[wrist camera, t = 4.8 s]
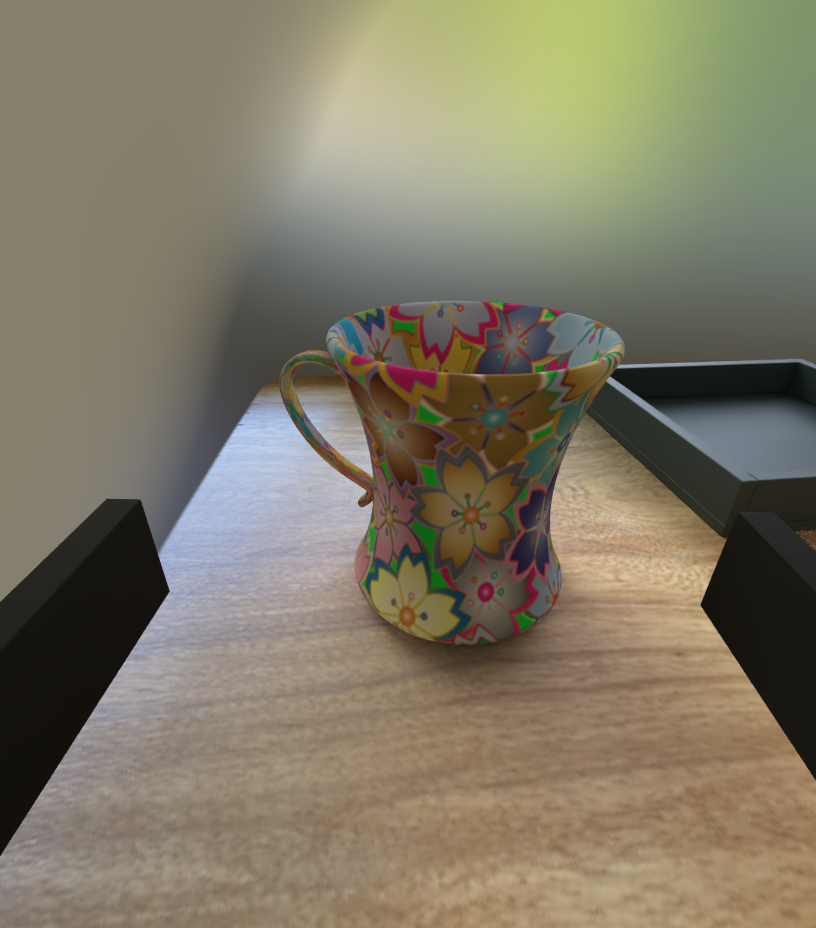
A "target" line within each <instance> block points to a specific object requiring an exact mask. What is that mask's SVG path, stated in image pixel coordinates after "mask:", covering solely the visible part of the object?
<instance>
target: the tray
mask: <svg viewBox="0 0 816 928" xmlns="http://www.w3.org/2000/svg"><path fill="white" fill-rule="evenodd" d="M586 412H587V413H588V414H589V415H590V416H591V417H592V418H593V419H594V420H595V421H597V422H598V423H599V424H600V425H601V426H602V427H603V428H604V429H605V430H606V431H607V432H608V433H610V434H611V435H612V436H613V437H614V438H615V439H616V440H617V441H618V442H619V443H620V444H622V445H623V446H624V447H625V448H626V449H627V450H628V451H629V452H630V453H631V454H632V455H633V456H635V457H636V458H637V459H638V460H639V461H640V462H641V463H642V464H643V465H644V466H645V467H647V468H648V469H649V470H650V471H651V472H652V473H653V474H654V475H655V476H656V477H657V478H658V479H660V480H661V481H662V482H663V483H664V484H665V485H666V486H667V487H668V488H669V489H670V490H672V491H673V492H674V493H675V494H676V495H677V496H678V497H679V498H680V499H681V500H682V501H683V502H685V503H686V504H687V505H688V506H689V507H690V508H691V509H692V510H693V511H694V512H695V513H697V514H698V515H699V516H700V517H701V518H702V519H703V520H704V521H705V522H706V523H707V524H708V525H710V526H711V527H712V528H713V529H714V530H715V531H716V532H717V533H718V534H719V535H720V536H728V535H729V533H730V530H731V528H732V525H733V523H734V520H735V518H736V515H737V513H738V512H774V513H775V514H776V515H777V516H778V517H779V518H780V519H782V520H783V521H784V522H785V523H786V524H787V525H788V526H789V527H790V528H791V529H792V530H793V531H798V530H812V529H816V364H813V363H810V362H808V361H805V360H802V359H782V360H754V361H753V360H752V361H724V362H696V363H669V364H638V365H618V366H617V368H616V369H615V370H614V371H613V373H612V374H611V375H610V377H609V378H608V379H607V381H606V382H605V384H604V385H603V386H602V388H601V389H600V391H599V392H598V394H597V395H596V397H595V398H594V400H593V401H592V403H591V404H590V406H589V407H588V409H587V411H586Z"/></svg>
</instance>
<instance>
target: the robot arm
mask: <svg viewBox="0 0 816 928" xmlns="http://www.w3.org/2000/svg"><path fill="white" fill-rule="evenodd" d="M169 592H170V591H169V588H168V585H167V581H166V578H165V575H164V572H163V569H162V566H161V563H160V559H159V556H158V553H157V550H156V547H155V544H154V540H153V537H152V534H151V531H150V528H149V525H148V522H147V518H146V515H145V512H144V509H143V506H142V503H141V500H137V499H134V500H133V499H106V500H105V501H104V502H103V503H102V504H101V505H100V506H99V507H98V508H97V509H96V510H95V511H94V512H93V513H92V514H91V515H90V516H89V517H88V518H87V519H86V520H85V521H84V522H83V523H82V524H80V525H79V527H77V528H76V529H75V530H74V531H73V532H72V533H71V534H70V535H69V536H68V537H67V538H66V539H65V540H64V541H63V542H62V543H61V544H60V545H59V546H58V547H57V548H56V549H55V550H54V551H53V552H51V554H50V555H48V556H47V557H46V558H45V559H44V560H43V561H42V562H41V563H40V564H39V565H38V566H37V567H36V568H35V569H34V570H33V571H32V572H31V573H30V574H29V575H28V576H27V577H26V578H25V579H24V580H23V581H21V582H20V583H19V584H18V585H17V586H16V587H15V588H14V589H13V590H12V591H11V592H10V593H9V594H8V595H7V596H6V597H5V598H4V599H3V600H2V601H1V602H0V856H1V854H2V853H3V851H4V849H5V848H6V846H7V845H8V843H9V842H10V840H11V838H12V837H13V835H14V834H15V832H16V831H17V829H18V828H19V826H20V824H21V823H22V821H23V820H24V818H25V817H26V815H27V813H28V812H29V810H30V809H31V807H32V806H33V804H34V803H35V801H36V799H37V798H38V796H39V795H40V793H41V792H42V790H43V788H44V787H45V785H46V784H47V782H48V781H49V779H50V778H51V776H52V774H53V773H54V771H55V770H56V768H57V767H58V765H59V763H60V762H61V760H62V759H63V757H64V756H65V754H66V753H67V751H68V749H69V748H70V746H71V745H72V743H73V742H74V740H75V738H76V737H77V735H78V734H79V732H80V731H81V729H82V727H83V726H84V724H85V723H86V721H87V720H88V718H89V717H90V715H91V713H92V712H93V710H94V709H95V707H96V706H97V704H98V702H99V701H100V699H101V698H102V696H103V695H104V693H105V692H106V690H107V688H108V687H109V685H110V684H111V682H112V681H113V679H114V677H115V676H116V674H117V673H118V671H119V670H120V668H121V667H122V665H123V663H124V662H125V660H126V659H127V657H128V656H129V654H130V652H131V651H132V649H133V648H134V646H135V645H136V643H137V642H138V640H139V638H140V637H141V635H142V634H143V632H144V631H145V629H146V627H147V626H148V624H149V623H150V621H151V620H152V618H153V617H154V615H155V613H156V612H157V610H158V609H159V607H160V606H161V604H162V602H163V601H164V599H165V598H166V596H167V595H168V593H169ZM701 607H702V608H703V610H704V611H705V613H706V614H707V616H708V617H709V619H710V620H711V622H712V623H713V625H714V626H715V628H716V630H717V631H718V633H719V634H720V636H721V637H722V639H723V640H724V642H725V643H726V645H727V646H728V648H729V649H730V651H731V652H732V654H733V655H734V657H735V658H736V660H737V661H738V663H739V664H740V666H741V668H742V669H743V671H744V672H745V674H746V675H747V677H748V678H749V680H750V681H751V683H752V684H753V686H754V687H755V689H756V690H757V692H758V693H759V695H760V696H761V698H762V699H763V701H764V702H765V704H766V705H767V707H768V709H769V710H770V712H771V713H772V715H773V716H774V718H775V719H776V721H777V722H778V724H779V725H780V727H781V728H782V730H783V731H784V733H785V734H786V736H787V737H788V739H789V740H790V742H791V743H792V745H793V747H794V748H795V750H796V751H797V753H798V754H799V756H800V757H801V759H802V760H803V762H804V763H805V765H806V766H807V768H808V769H809V771H810V772H811V774H812V775H813V777H814V778H815V780H816V551H815V550H814V549H813V548H812V547H811V546H809V545H808V544H807V543H806V542H805V541H804V540H803V539H802V538H801V537H800V536H799V535H798V534H797V533H795V532H794V531H793V530H792V529H791V528H790V527H789V526H788V525H787V524H786V523H785V522H784V521H783V520H782V519H780V518H779V517H778V516H777V515H776V514H775V513H774V512H738V513H737V515H736V518H735V520H734V523H733V525H732V528H731V530H730V533H729V535H728V538H727V540H726V542H725V545H724V547H723V550H722V552H721V555H720V557H719V560H718V562H717V565H716V567H715V570H714V572H713V575H712V577H711V580H710V582H709V585H708V587H707V590H706V592H705V595H704V597H703V600H702V602H701Z"/></svg>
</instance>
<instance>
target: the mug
mask: <svg viewBox="0 0 816 928" xmlns="http://www.w3.org/2000/svg"><path fill="white" fill-rule="evenodd" d="M326 341H327V347H328V350H329V352H330V353H328V352H325V351H316V350H313V351H306V352H302V353H300V354H298V355H296V356H294V357H293V358H291V359H290V360H289V361H288V362H287V363H286V364H285V365H284V367H283V369H282V371H281V375H280V382H279V383H280V392H281V396H282V399H283V402H284V405H285V407H286V409H287V412H288V413H289V415H290V417H291V419H292V421H293V422H294V424H295V426H296V427H297V428H298V430H299V431H300V433H301V434H302V435H303V437H304V438H305V439H306V440H307V442H308V443H309V444H310V445H311V446H312V448H313V449H314V450H315V451H316V452H317V453H318V454H319V455H320V456H321V457H322V458H323V459H324V460H325V461H326V462H328V463H329V464H330V465H331V466H332V467H334V468H335V469H336V470H337V471H339V472H340V473H341V474H343V475H344V476H346V477H347V478H349V479H350V480H352V481H353V482H355V483H356V484H358V485H359V486H361V487H362V488H364V489H365V490H366V491H367V492H366V493H365V494H364V495H363V496H361V497H360V499H359V501H358V504H359V506H360V507H364V506H366V505H368V504H369V503H371V502H372V501H373V508H372V515H371V520H370V524H369V527H368V530H367V532H366V534H365V536H364V538H363V539H362V541H361V543H360V545H359V547H358V551H357V554H356V558H355V574H356V579H357V582H358V585H359V588H360V590H361V592H362V594H363V596H364V597H365V599H366V600H367V602H368V603H369V604H370V605H371V607H372V608H373V609H374V610H375V611H376V612H377V613H378V614H379V615H380V616H382V617H383V618H384V619H386V620H387V621H388V622H390V623H391V624H393V625H395V626H396V627H398V628H400V629H401V630H403V631H405V632H407V633H410V634H412V635H415V636H417V637H420V638H423V639H426V640H430V641H434V642H439V643H445V644H454V645H478V644H487V643H493V642H497V641H501V640H505V639H508V638H510V637H513V636H516V635H518V634H520V633H522V632H524V631H526V630H528V629H530V628H531V627H533V626H534V625H536V624H537V623H538V622H539V621H541V620H542V619H543V618H544V617H545V616H546V615H547V614H548V612H549V611H550V610H551V608H552V607H553V605H554V603H555V601H556V599H557V598H558V595H559V592H560V588H561V569H560V564H559V561H558V558H557V555H556V553H555V551H554V548H553V545H552V540H551V534H550V509H551V501H552V495H553V490H554V485H555V481H556V478H557V475H558V471H559V468H560V465H561V462H562V460H563V457H564V455H565V452H566V450H567V447H568V445H569V443H570V441H571V439H572V436H573V434H574V432H575V430H576V429H577V427H578V425H579V423H580V421H581V419H582V418H583V416H584V414H585V412H586V411H587V409H588V407H589V406H590V404H591V403H592V401H593V400H594V398H595V397H596V395H597V394H598V392H599V391H600V389H601V388H602V386H603V385H604V384H605V382H606V381H607V379H608V378H609V377H610V375H611V374H612V373H613V371H614V370H615V369H616V368H617V366H618V365H619V363H620V362H621V360H622V358H623V356H624V352H625V346H624V343H623V340H622V339H621V337H620V336H619V335H618V334H617V333H616V332H614V330H612V329H610V328H609V327H607V326H605V325H603V324H601V323H599V322H596V321H594V320H591V319H588V318H585V317H582V316H579V315H575V314H571V313H567V312H563V311H558V310H553V309H548V308H542V307H535V306H528V305H519V304H510V303H497V302H479V301H438V302H437V301H436V302H419V303H408V304H399V305H392V306H385V307H380V308H375V309H370V310H366V311H362V312H360V313H356V314H353V315H350V316H348V317H346V318H344V319H342V320H340V321H339V322H337V323H336V324H334V325H333V326H332V328H331V329H330V330H329V332H328V335H327V340H326ZM305 363H318V364H321V365H324V366H326V367H328V368H330V369H332V370H333V371H335V372H336V373H337V374H339V375H340V376H341V377H342V378H343V379H344V380H345V382H346V384H347V387H348V389H349V391H350V393H351V395H352V398H353V400H354V403H355V405H356V407H357V410H358V413H359V416H360V419H361V421H362V425H363V428H364V431H365V435H366V439H367V443H368V447H369V451H370V457H371V463H372V470H373V477H371V476H370V475H369V474H367V473H366V472H364V471H363V470H361V469H360V468H358V467H357V466H355V465H354V464H352V463H351V462H350V461H348V460H347V459H346V458H344V457H343V456H342V455H341V454H339V453H338V452H337V451H336V450H335V449H334V448H333V447H332V446H331V445H330V444H329V443H328V442H327V441H326V440H325V439H324V438H323V437H322V436H321V434H320V433H319V432H318V431H317V430H316V428H315V427H314V426H313V424H312V423H311V421H310V420H309V419H308V417H307V415H306V414H305V412H304V410H303V408H302V407H301V405H300V402H299V400H298V398H297V395H296V392H295V388H294V374H295V371H296V369H297V368H298V367H299V366H300V365H302V364H305Z"/></svg>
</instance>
